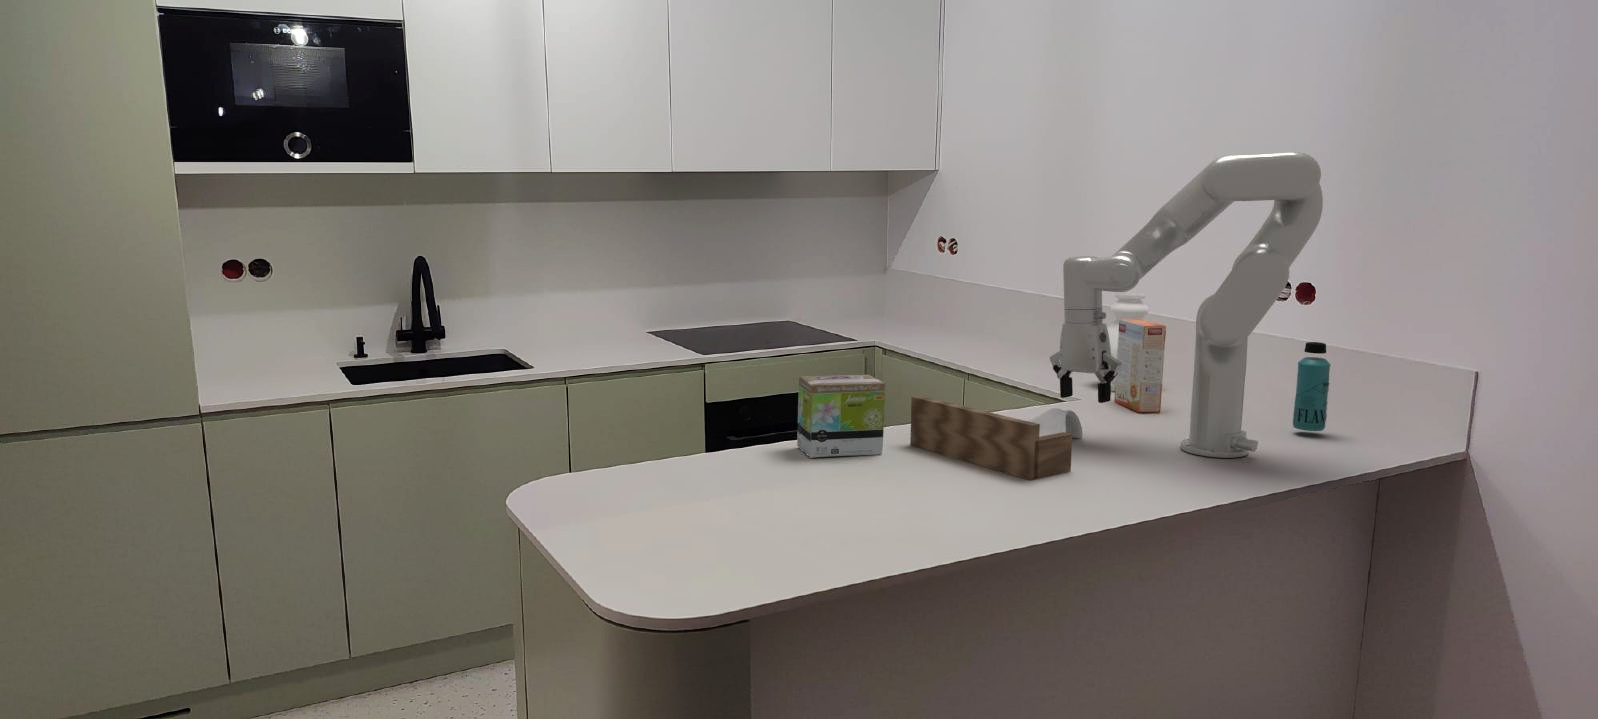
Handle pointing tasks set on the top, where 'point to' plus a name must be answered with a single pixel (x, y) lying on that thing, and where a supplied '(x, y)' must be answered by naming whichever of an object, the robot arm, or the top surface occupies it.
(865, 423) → the tea box
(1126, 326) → the cracker box
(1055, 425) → the spoon rest
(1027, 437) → the stand
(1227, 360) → the robot arm
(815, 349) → the top surface
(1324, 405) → the beverage bottle
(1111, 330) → the decorative vase
